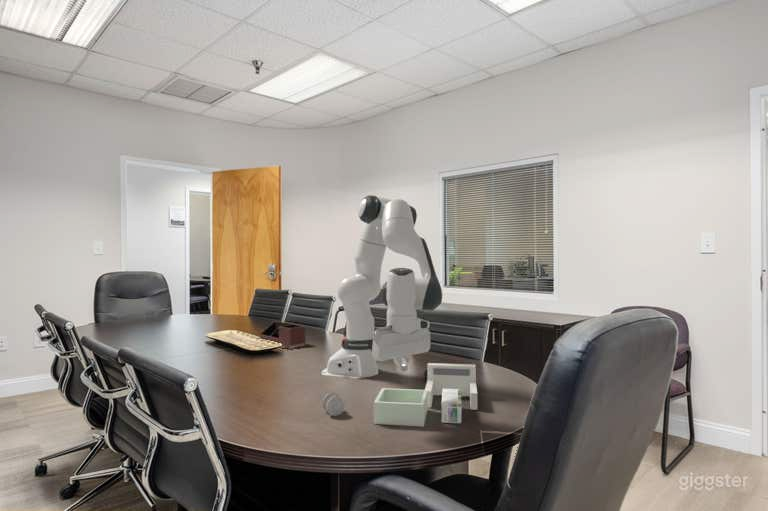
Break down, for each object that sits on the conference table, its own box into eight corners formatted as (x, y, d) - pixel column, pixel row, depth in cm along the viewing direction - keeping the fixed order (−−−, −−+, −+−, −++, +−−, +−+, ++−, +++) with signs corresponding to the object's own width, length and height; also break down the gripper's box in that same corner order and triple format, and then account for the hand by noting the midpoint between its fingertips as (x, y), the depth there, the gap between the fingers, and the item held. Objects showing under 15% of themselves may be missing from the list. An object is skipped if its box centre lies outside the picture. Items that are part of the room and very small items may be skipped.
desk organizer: (289, 351, 230) (289, 328, 230) (258, 343, 250) (258, 322, 250) (307, 347, 238) (306, 325, 238) (275, 340, 258) (275, 320, 258)
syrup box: (460, 407, 143) (462, 424, 129) (441, 406, 144) (441, 423, 130) (460, 388, 143) (462, 403, 129) (441, 387, 144) (441, 402, 130)
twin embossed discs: (326, 417, 135) (326, 396, 135) (322, 412, 139) (322, 392, 139) (344, 414, 137) (344, 394, 137) (340, 410, 141) (340, 390, 141)
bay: (424, 407, 143) (424, 375, 143) (428, 392, 159) (427, 362, 159) (477, 409, 141) (477, 376, 141) (475, 394, 156) (475, 364, 156)
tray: (373, 423, 129) (373, 402, 129) (382, 407, 143) (381, 388, 143) (423, 426, 127) (423, 404, 127) (427, 409, 141) (427, 389, 141)
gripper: (381, 329, 126) (381, 379, 126) (433, 321, 139) (434, 367, 139) (367, 326, 131) (367, 375, 131) (418, 319, 144) (419, 363, 144)
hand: (402, 371), depth 135 cm, fingers closed
